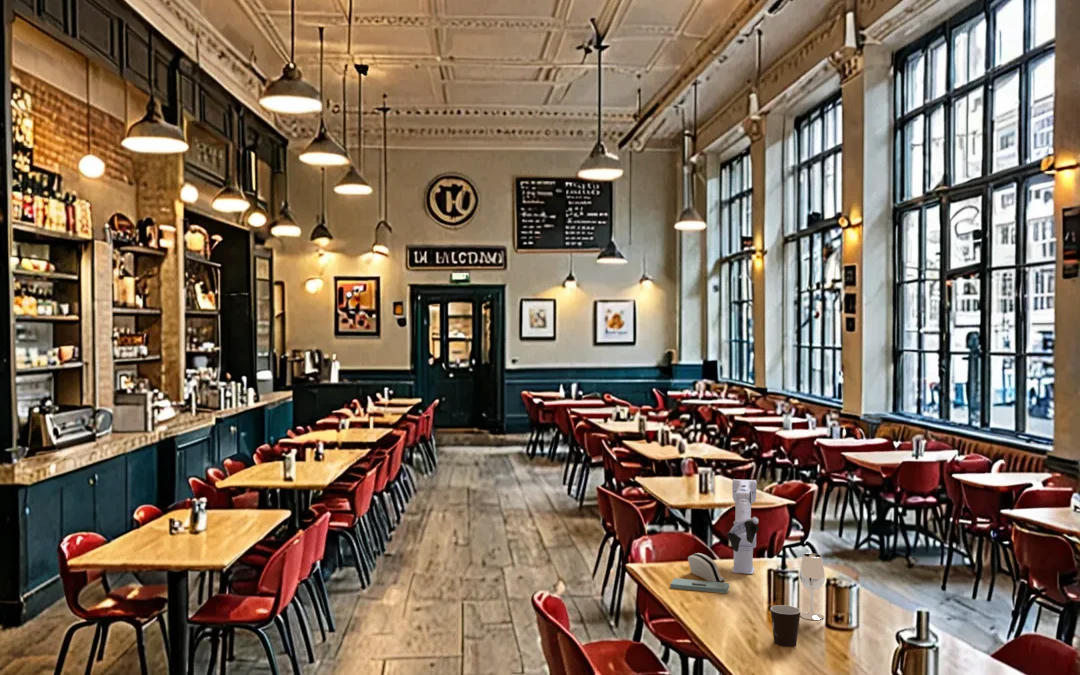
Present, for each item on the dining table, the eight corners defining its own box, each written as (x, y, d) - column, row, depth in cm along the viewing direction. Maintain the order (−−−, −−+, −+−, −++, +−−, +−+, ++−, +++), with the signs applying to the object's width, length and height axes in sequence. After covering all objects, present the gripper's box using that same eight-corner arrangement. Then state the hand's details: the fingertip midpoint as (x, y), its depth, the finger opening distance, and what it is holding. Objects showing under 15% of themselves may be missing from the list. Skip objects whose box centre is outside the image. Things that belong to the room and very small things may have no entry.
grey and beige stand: (726, 582, 322) (718, 558, 321) (715, 588, 320) (708, 563, 319) (702, 571, 337) (694, 547, 336) (692, 576, 336) (684, 552, 335)
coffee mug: (795, 650, 252) (795, 616, 252) (766, 644, 257) (766, 610, 257) (806, 638, 262) (806, 605, 262) (778, 633, 267) (778, 600, 267)
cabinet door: (674, 582, 322) (674, 576, 322) (729, 587, 316) (729, 581, 316) (670, 588, 314) (670, 582, 314) (726, 593, 308) (726, 587, 308)
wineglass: (828, 616, 283) (829, 555, 283) (818, 622, 278) (818, 559, 278) (806, 611, 289) (806, 551, 289) (795, 616, 283) (795, 555, 283)
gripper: (721, 520, 333) (720, 548, 322) (748, 503, 324) (748, 532, 313) (735, 529, 334) (734, 558, 324) (762, 512, 325) (762, 541, 315)
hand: (742, 546), depth 319 cm, fingers open, 7 cm apart
